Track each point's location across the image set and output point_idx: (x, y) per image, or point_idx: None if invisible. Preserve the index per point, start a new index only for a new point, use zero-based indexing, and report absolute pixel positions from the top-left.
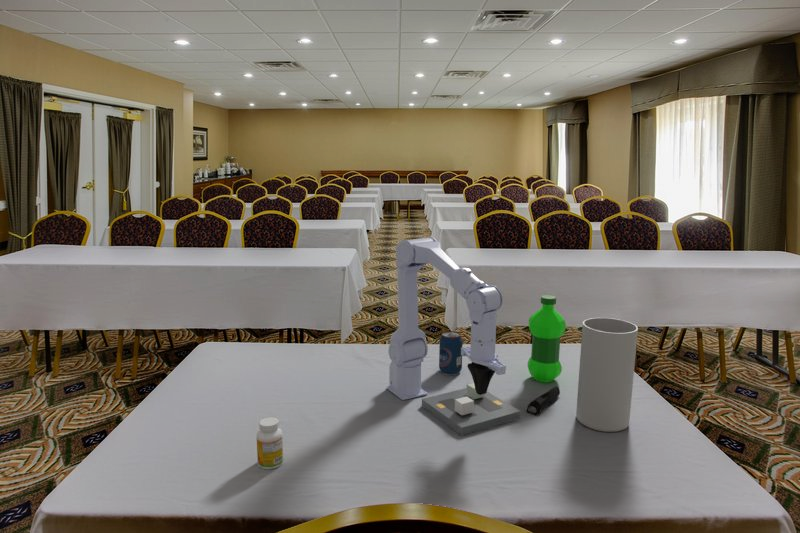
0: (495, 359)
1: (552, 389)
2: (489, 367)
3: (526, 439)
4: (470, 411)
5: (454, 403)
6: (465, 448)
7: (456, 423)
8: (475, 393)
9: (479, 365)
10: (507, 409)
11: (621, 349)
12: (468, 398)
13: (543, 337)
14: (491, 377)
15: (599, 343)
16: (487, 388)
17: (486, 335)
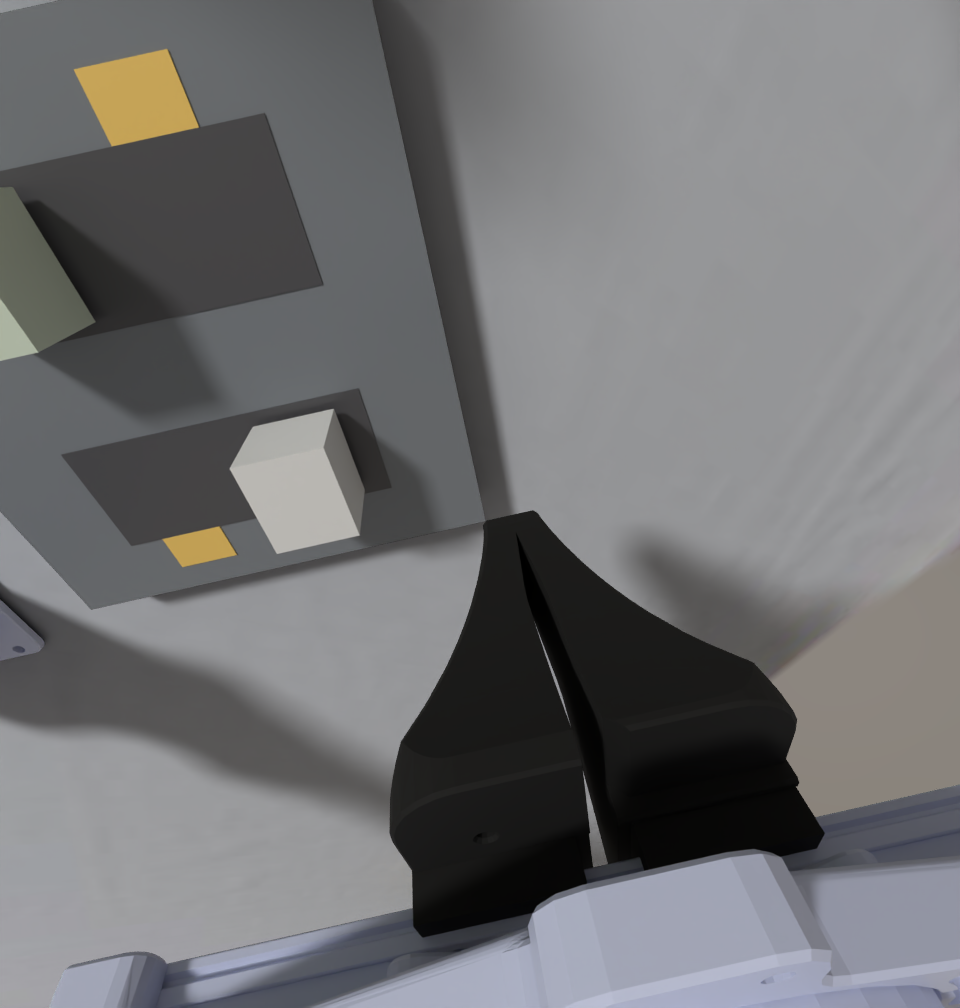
0: (924, 939)
1: None
2: (822, 847)
3: (669, 148)
4: (340, 437)
5: (162, 467)
6: (588, 515)
7: (434, 531)
8: (56, 315)
9: (592, 865)
10: (301, 78)
11: None
12: (270, 470)
13: None
14: (637, 609)
15: None
16: (551, 532)
17: None
